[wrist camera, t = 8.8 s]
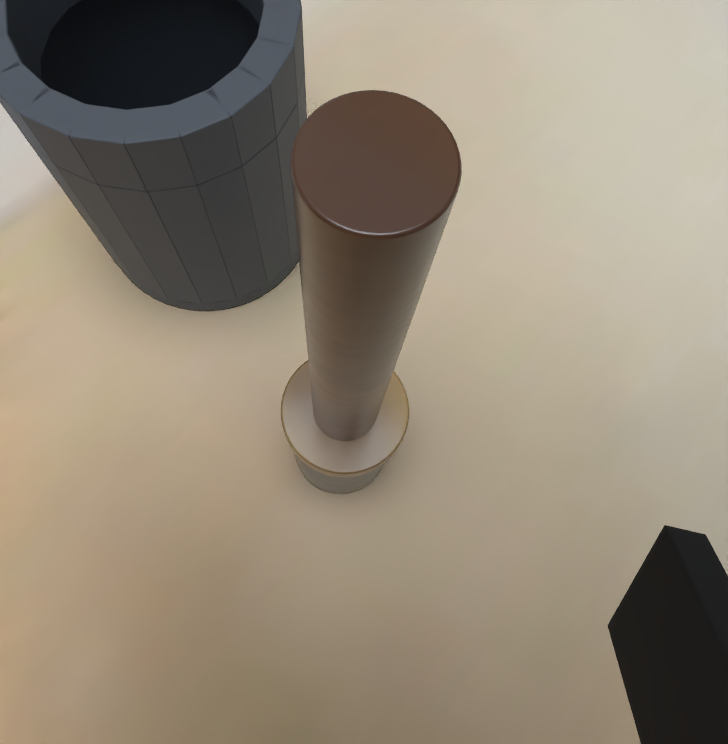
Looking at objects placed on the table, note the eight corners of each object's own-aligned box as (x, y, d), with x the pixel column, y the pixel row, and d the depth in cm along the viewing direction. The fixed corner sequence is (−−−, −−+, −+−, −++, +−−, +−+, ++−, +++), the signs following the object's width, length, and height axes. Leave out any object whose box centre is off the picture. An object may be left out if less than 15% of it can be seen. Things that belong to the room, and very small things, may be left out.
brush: (338, 383, 30) (367, -32, 9) (406, 446, 29) (614, 161, 8) (273, 449, 29) (126, 158, 8) (342, 516, 28) (387, 396, 7)
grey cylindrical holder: (214, 100, 34) (150, -163, 22) (350, 218, 32) (366, 7, 20) (65, 218, 31) (-105, -3, 19) (205, 352, 30) (118, 206, 17)
